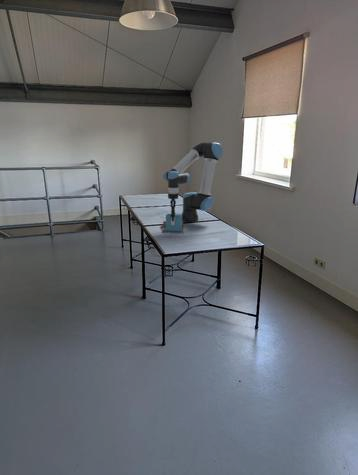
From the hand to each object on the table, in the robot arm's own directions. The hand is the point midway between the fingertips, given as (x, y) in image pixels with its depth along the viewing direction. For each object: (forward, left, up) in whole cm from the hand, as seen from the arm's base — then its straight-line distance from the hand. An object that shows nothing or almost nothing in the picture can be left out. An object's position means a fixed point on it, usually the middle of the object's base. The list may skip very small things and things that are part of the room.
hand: (172, 223), depth 247 cm
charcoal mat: (0, 0, -6) cm, 6 cm away
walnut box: (-12, 0, -6) cm, 13 cm away
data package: (0, +1, -5) cm, 5 cm away
